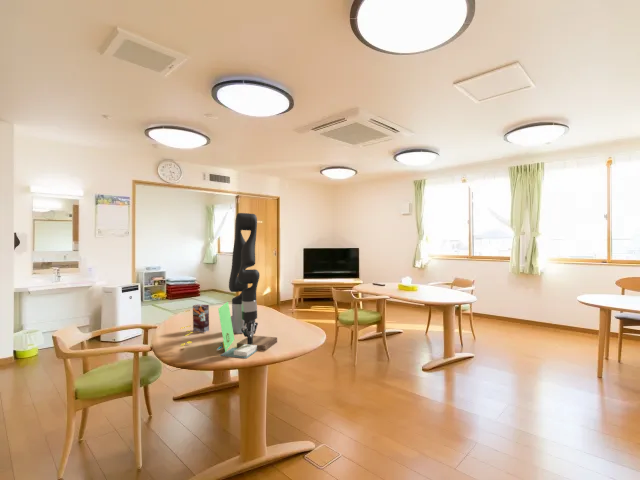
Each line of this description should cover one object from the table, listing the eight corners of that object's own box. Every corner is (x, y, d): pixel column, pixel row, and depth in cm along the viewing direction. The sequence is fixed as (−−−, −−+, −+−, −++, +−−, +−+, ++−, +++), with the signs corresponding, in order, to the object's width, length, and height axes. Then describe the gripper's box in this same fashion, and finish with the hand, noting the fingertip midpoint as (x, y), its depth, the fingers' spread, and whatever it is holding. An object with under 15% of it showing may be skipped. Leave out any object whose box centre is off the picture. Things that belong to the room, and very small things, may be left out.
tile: (233, 355, 158) (233, 350, 158) (244, 348, 167) (244, 344, 167) (246, 356, 156) (246, 352, 156) (257, 349, 165) (257, 345, 165)
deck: (237, 348, 169) (236, 343, 169) (250, 339, 182) (250, 335, 182) (265, 350, 164) (265, 345, 164) (277, 342, 177) (277, 337, 177)
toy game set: (190, 347, 182) (182, 304, 182) (235, 339, 183) (228, 296, 183) (174, 361, 160) (166, 312, 160) (226, 352, 162) (218, 303, 162)
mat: (220, 355, 158) (220, 355, 158) (232, 348, 169) (232, 347, 169) (246, 358, 154) (246, 357, 154) (257, 350, 164) (257, 349, 164)
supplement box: (192, 331, 200) (192, 305, 200) (198, 329, 205) (197, 303, 204) (204, 333, 197) (203, 306, 197) (209, 330, 201) (209, 304, 201)
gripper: (249, 306, 172) (250, 339, 173) (235, 312, 160) (236, 347, 160) (262, 307, 170) (263, 340, 170) (249, 312, 158) (250, 349, 158)
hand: (250, 344), depth 165 cm, fingers closed
